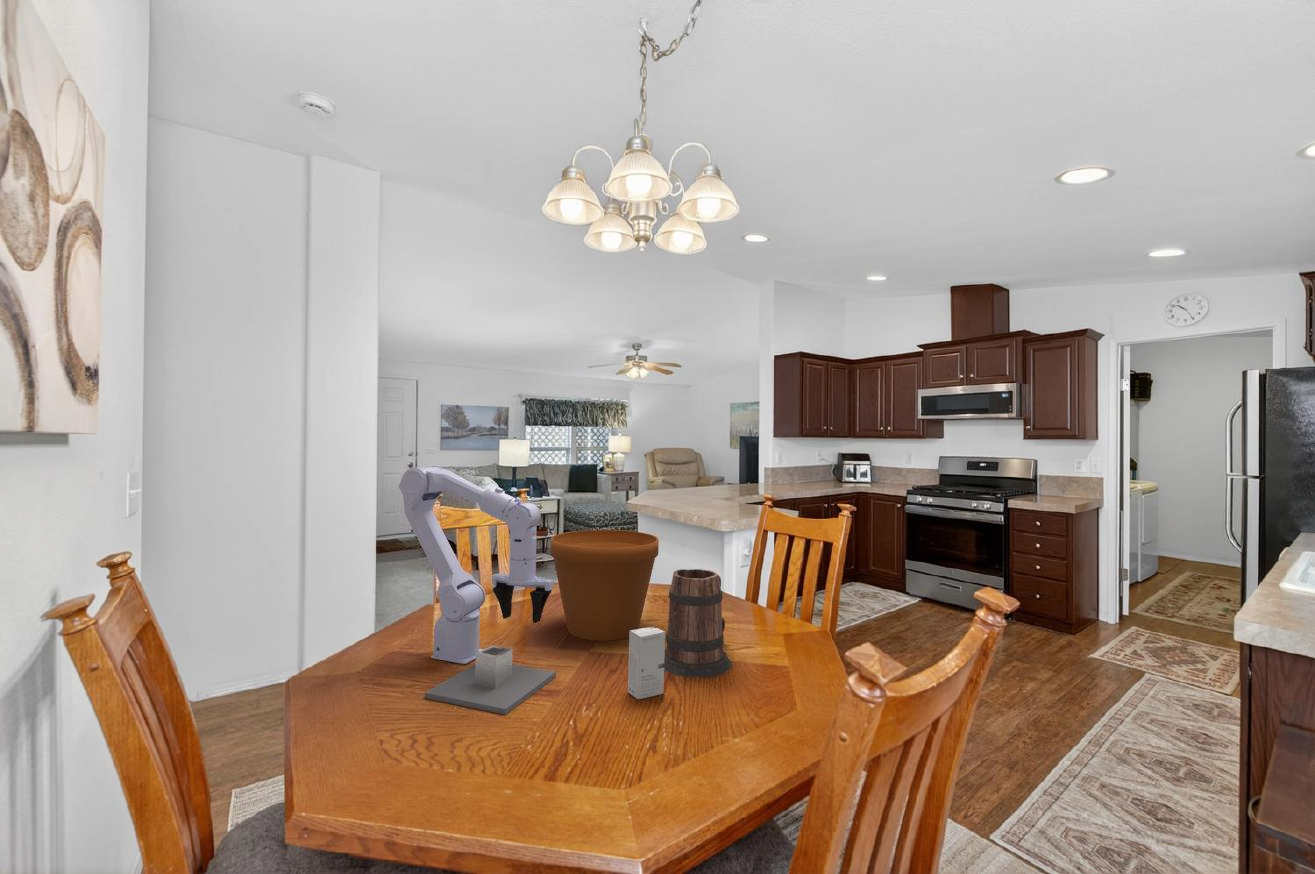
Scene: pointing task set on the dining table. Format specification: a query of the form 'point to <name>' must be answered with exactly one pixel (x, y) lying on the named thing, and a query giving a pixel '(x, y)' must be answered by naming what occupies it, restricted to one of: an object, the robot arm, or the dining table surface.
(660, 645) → the skincare box
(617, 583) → the flowerpot
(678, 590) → the tankard
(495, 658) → the square socket
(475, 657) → the robot arm
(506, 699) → the block
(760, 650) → the dining table surface
